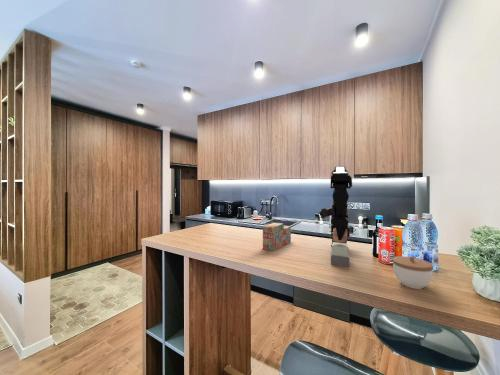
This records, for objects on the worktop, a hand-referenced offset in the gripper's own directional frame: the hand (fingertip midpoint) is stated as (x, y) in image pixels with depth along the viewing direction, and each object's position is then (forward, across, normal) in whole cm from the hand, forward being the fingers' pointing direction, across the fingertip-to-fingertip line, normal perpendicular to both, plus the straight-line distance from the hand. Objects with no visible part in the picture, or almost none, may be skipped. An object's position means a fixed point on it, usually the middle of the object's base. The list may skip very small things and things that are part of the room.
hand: (340, 238), depth 90 cm
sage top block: (+7, 0, 0) cm, 7 cm away
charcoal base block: (+11, 0, 0) cm, 11 cm away
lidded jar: (+11, +11, +22) cm, 27 cm away
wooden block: (+1, 0, 0) cm, 1 cm away
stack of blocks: (+11, -14, -32) cm, 37 cm away
